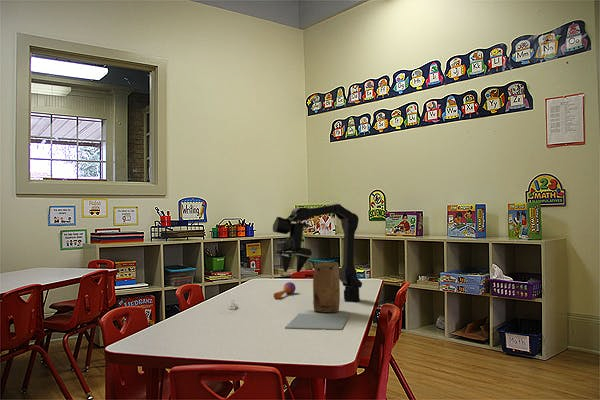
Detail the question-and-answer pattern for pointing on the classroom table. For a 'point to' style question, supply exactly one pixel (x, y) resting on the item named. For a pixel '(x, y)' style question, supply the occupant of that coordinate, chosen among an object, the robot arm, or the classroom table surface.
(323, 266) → the block
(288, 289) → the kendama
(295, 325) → the mat
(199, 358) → the classroom table surface
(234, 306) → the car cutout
